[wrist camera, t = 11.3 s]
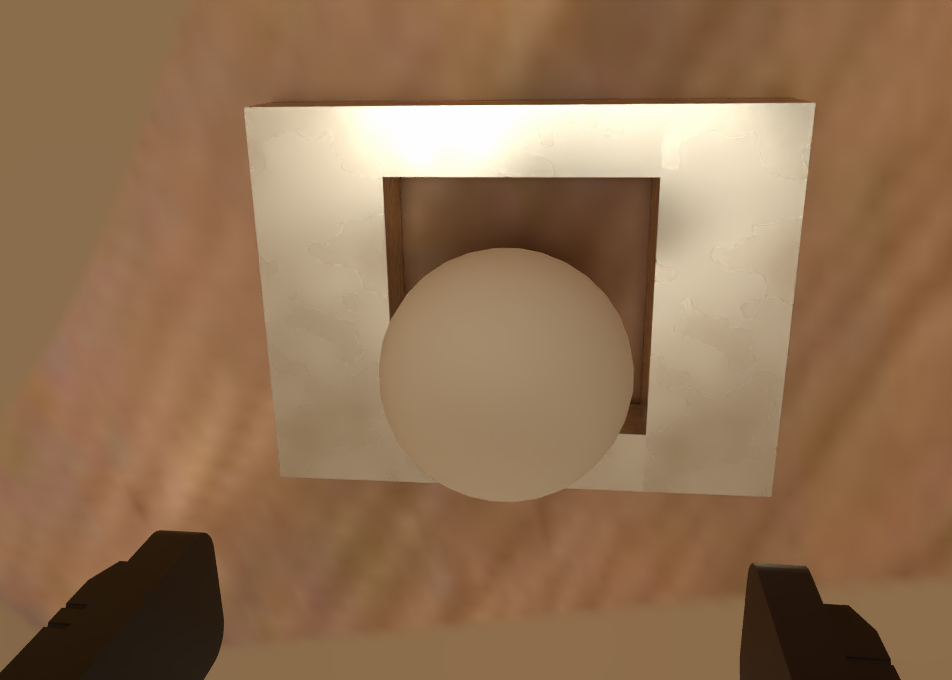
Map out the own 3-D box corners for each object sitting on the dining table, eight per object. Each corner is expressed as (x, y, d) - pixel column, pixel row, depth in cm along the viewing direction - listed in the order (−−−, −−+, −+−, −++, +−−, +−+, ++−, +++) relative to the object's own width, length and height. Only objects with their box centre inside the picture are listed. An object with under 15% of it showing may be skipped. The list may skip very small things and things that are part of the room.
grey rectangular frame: (793, 97, 25) (815, 103, 23) (755, 460, 29) (771, 496, 27) (272, 101, 27) (243, 107, 25) (302, 444, 31) (280, 476, 29)
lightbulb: (410, 342, 29) (325, 507, 19) (457, 170, 27) (390, 247, 17) (580, 394, 29) (589, 586, 19) (640, 225, 27) (688, 337, 17)
